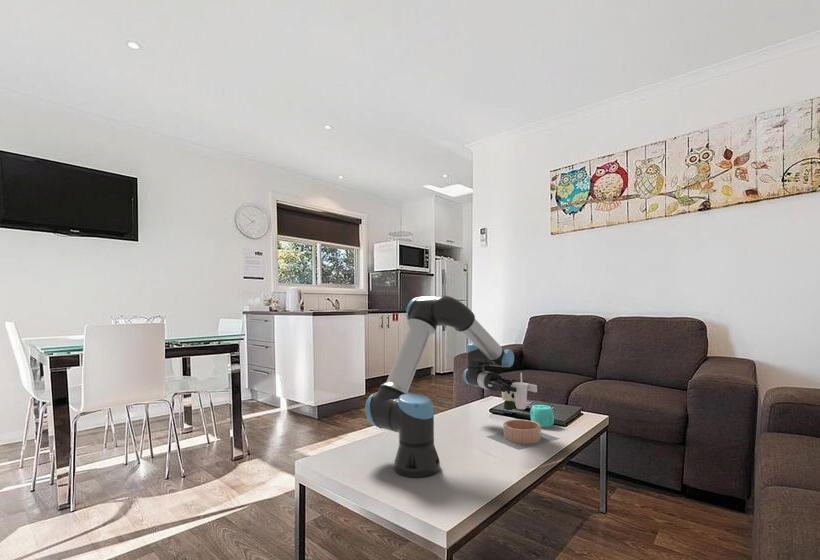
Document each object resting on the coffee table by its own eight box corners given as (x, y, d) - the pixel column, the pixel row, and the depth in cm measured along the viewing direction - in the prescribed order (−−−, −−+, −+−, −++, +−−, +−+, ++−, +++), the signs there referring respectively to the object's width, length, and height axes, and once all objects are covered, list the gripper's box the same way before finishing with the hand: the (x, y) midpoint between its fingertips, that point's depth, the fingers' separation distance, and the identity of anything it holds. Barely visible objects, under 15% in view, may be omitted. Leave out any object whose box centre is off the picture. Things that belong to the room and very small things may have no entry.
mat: (518, 451, 151) (518, 449, 151) (486, 437, 166) (486, 436, 166) (559, 439, 162) (559, 438, 162) (525, 428, 178) (525, 427, 178)
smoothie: (530, 410, 161) (528, 374, 162) (513, 410, 162) (511, 374, 163) (528, 406, 167) (527, 371, 168) (512, 405, 169) (511, 371, 169)
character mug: (512, 417, 195) (511, 389, 195) (498, 415, 199) (497, 387, 200) (521, 412, 203) (520, 385, 204) (507, 410, 208) (506, 383, 208)
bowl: (522, 446, 155) (522, 432, 155) (496, 436, 167) (496, 423, 167) (548, 439, 162) (548, 426, 162) (522, 429, 174) (521, 417, 174)
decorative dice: (530, 422, 185) (530, 404, 186) (548, 422, 185) (547, 404, 185) (535, 428, 177) (534, 409, 178) (554, 428, 177) (553, 409, 177)
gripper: (506, 386, 186) (547, 396, 166) (473, 392, 176) (512, 403, 156) (506, 370, 186) (546, 377, 166) (472, 374, 176) (511, 383, 156)
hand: (529, 390), depth 161 cm, fingers closed on smoothie, 6 cm apart
